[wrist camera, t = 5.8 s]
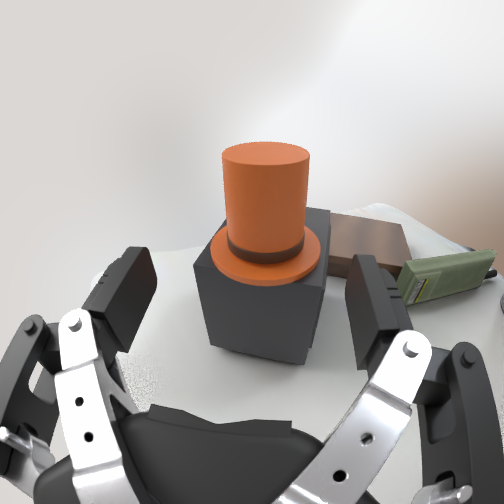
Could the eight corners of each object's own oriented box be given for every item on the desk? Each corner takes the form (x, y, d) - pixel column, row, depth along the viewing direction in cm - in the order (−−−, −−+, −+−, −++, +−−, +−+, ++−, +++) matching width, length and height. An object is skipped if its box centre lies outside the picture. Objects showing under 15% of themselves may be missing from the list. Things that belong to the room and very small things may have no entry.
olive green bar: (386, 293, 34) (487, 272, 36) (396, 311, 32) (496, 284, 33) (402, 256, 30) (502, 243, 32) (415, 274, 27) (512, 255, 29)
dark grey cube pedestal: (319, 292, 35) (333, 210, 28) (305, 370, 26) (326, 288, 19) (244, 279, 38) (240, 199, 31) (211, 349, 28) (192, 264, 21)
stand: (395, 243, 44) (400, 224, 41) (405, 290, 35) (414, 268, 32) (319, 231, 47) (322, 211, 45) (312, 276, 38) (315, 253, 35)
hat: (323, 228, 25) (332, 143, 20) (313, 296, 18) (330, 181, 13) (232, 216, 27) (227, 135, 22) (192, 274, 20) (174, 169, 16)
